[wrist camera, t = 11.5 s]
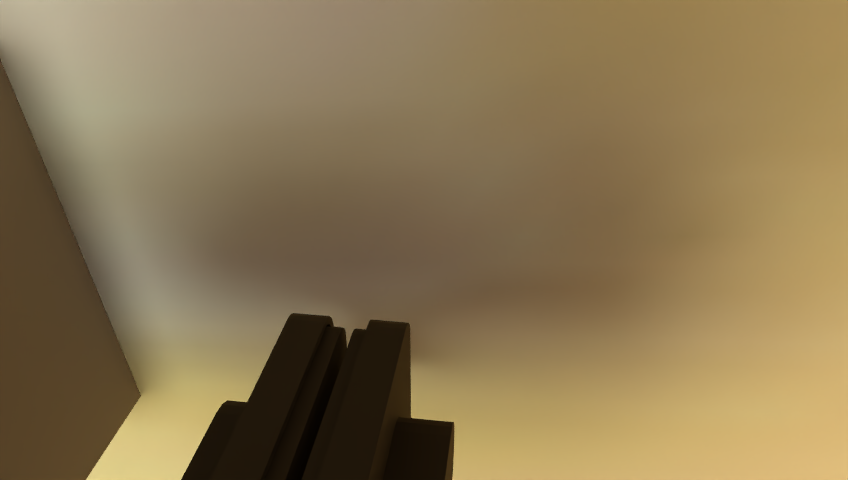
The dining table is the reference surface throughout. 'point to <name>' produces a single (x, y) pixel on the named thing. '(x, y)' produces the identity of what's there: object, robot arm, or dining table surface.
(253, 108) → the dining table surface
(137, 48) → the dining table surface
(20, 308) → the doorstop
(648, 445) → the dining table surface
